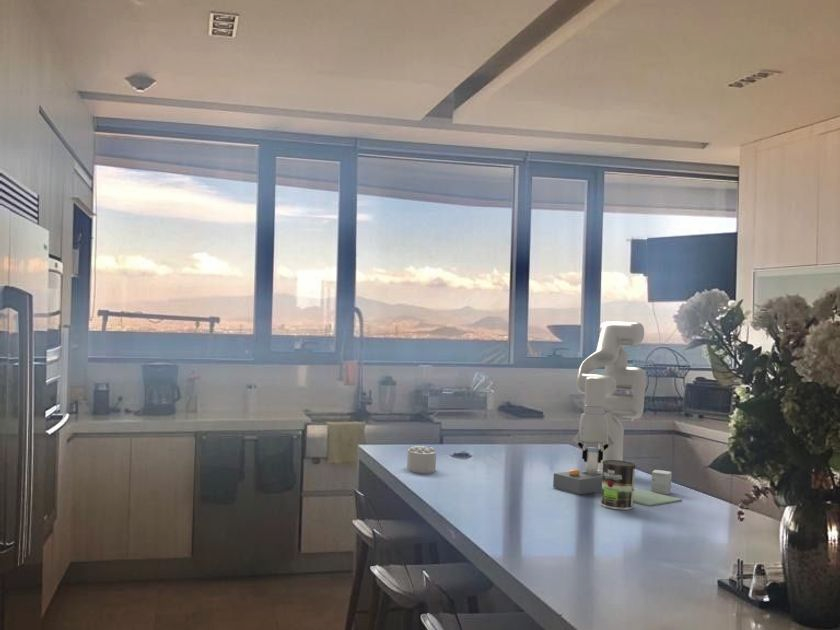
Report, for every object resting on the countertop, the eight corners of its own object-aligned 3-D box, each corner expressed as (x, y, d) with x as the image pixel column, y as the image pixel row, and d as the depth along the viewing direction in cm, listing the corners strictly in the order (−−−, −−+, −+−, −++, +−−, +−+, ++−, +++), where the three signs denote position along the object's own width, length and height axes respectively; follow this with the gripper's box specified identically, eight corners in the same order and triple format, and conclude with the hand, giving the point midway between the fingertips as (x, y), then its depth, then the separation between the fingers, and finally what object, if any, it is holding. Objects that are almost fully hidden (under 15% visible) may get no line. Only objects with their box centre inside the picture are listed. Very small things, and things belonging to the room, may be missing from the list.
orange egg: (573, 485, 293) (574, 468, 293) (581, 487, 290) (581, 470, 290) (566, 486, 291) (567, 469, 291) (574, 488, 288) (574, 471, 288)
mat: (638, 490, 295) (638, 488, 295) (682, 501, 281) (682, 499, 281) (605, 495, 284) (605, 493, 284) (649, 506, 270) (649, 504, 270)
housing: (587, 483, 303) (587, 469, 303) (613, 489, 294) (613, 475, 294) (553, 487, 293) (553, 473, 293) (578, 494, 283) (579, 479, 283)
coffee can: (623, 511, 260) (625, 466, 260) (594, 505, 267) (596, 461, 267) (639, 507, 268) (641, 463, 268) (610, 501, 275) (613, 458, 275)
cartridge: (584, 474, 299) (586, 446, 298) (597, 475, 298) (598, 447, 298) (585, 476, 294) (587, 448, 294) (598, 477, 294) (599, 449, 294)
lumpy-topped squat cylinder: (431, 467, 321) (432, 444, 321) (438, 473, 308) (439, 450, 308) (405, 466, 319) (406, 444, 319) (410, 473, 306) (412, 449, 306)
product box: (650, 492, 293) (651, 471, 293) (653, 489, 299) (654, 469, 299) (668, 494, 290) (669, 473, 290) (671, 491, 296) (672, 471, 296)
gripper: (617, 411, 298) (615, 461, 299) (570, 408, 301) (567, 458, 301) (619, 413, 291) (617, 465, 291) (571, 410, 293) (568, 462, 293)
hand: (592, 461), depth 296 cm, fingers closed on cartridge, 4 cm apart
